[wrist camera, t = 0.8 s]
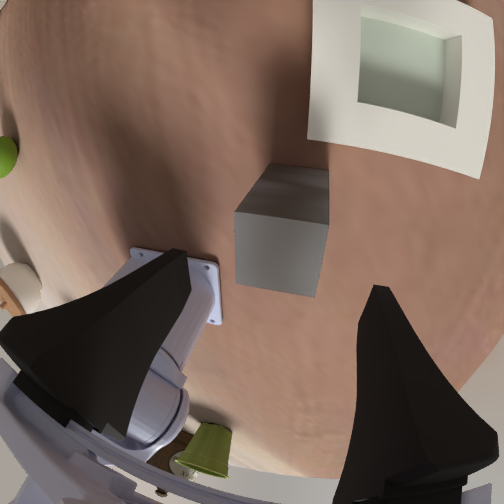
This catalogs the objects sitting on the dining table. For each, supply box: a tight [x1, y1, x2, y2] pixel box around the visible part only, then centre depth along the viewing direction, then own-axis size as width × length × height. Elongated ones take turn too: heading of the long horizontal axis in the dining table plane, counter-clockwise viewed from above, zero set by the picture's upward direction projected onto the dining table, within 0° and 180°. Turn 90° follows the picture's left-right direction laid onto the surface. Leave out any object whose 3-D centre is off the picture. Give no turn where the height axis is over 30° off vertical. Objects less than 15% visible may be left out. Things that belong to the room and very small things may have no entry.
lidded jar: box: [0, 263, 42, 317], centre depth 35 cm, size 11×11×9 cm
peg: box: [235, 163, 329, 297], centre depth 16 cm, size 4×4×8 cm
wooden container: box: [146, 431, 198, 497], centre depth 56 cm, size 15×15×22 cm
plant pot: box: [175, 423, 232, 479], centre depth 47 cm, size 12×12×11 cm
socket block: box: [307, 0, 495, 179], centre depth 11 cm, size 11×11×3 cm
